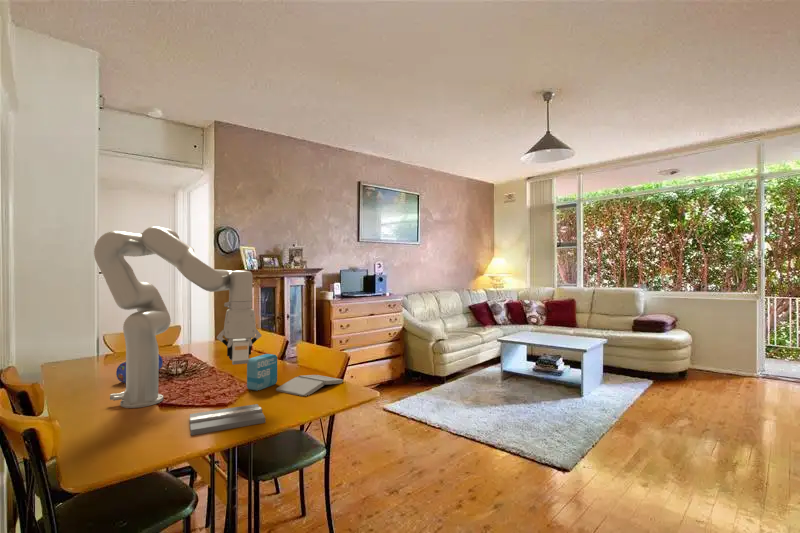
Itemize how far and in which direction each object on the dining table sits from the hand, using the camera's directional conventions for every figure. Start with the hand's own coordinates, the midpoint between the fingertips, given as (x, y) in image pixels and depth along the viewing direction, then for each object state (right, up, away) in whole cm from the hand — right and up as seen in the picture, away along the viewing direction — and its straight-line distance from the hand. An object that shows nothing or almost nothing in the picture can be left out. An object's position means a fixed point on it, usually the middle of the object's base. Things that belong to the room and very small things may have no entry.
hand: (239, 356), depth 142 cm
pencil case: (-55, -16, +31) cm, 65 cm away
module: (0, -2, 0) cm, 2 cm away
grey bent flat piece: (+21, -17, +18) cm, 32 cm away
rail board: (+4, -15, -19) cm, 25 cm away
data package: (+2, -16, +17) cm, 23 cm away
